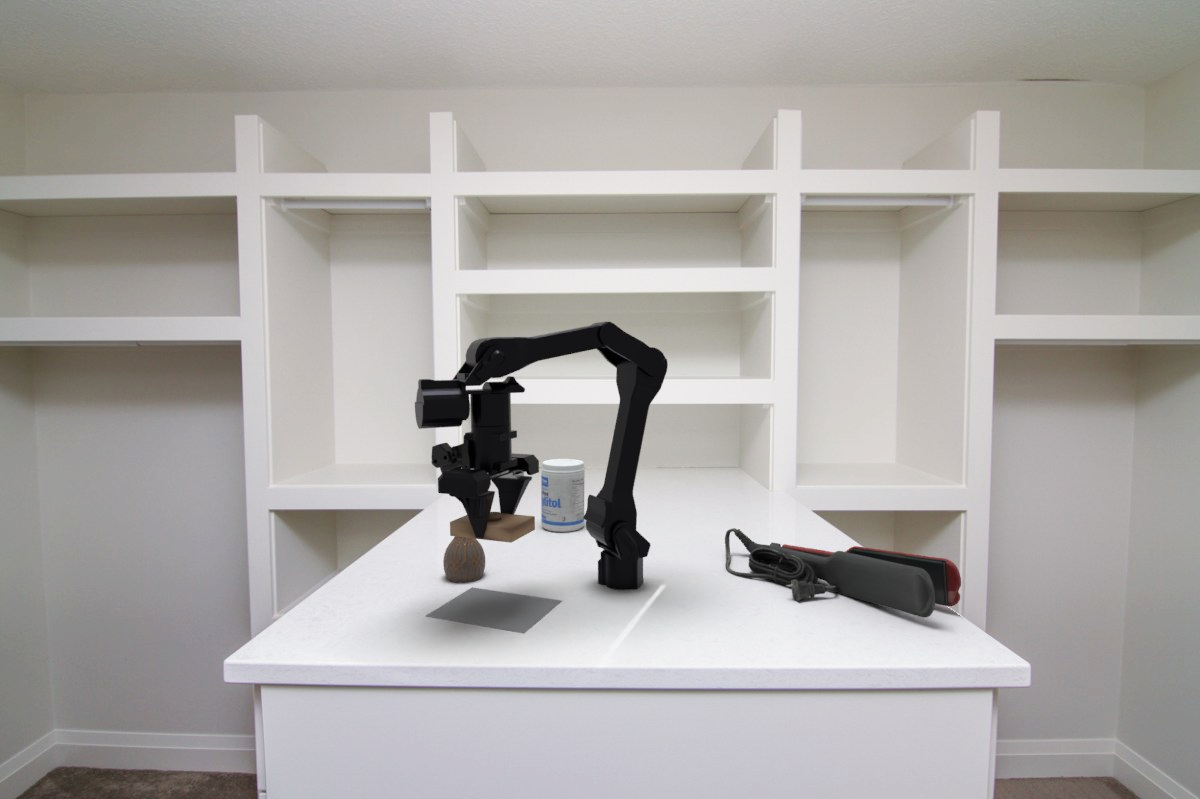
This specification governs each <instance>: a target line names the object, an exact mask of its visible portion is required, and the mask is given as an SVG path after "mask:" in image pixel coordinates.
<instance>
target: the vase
mask: <svg viewBox="0 0 1200 799" xmlns="http://www.w3.org/2000/svg"><path fill="white" fill-rule="evenodd" d="M442 564H443V570H444V573H445V576H446V578H447V580H448V581H449V582H453V583H469V582H474V581H478V580H479V579H481V578H482V577H483V575H484V572H485V568H486V555H485V550H484V548H483V546H482V544H481V543H480V542H479V540H478V539H475V538H466V537H457V536H453V539H452V540H451V541H450V543H448V545H447V547H446V548H445V552H444V555H443V563H442Z"/></svg>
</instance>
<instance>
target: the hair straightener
mask: <svg viewBox="0 0 1200 799" xmlns="http://www.w3.org/2000/svg"><path fill="white" fill-rule="evenodd" d="M731 533H734V535H735V536H736V538H738V540H739V541H740V542H741V544H742V545H743V546H744V547H745V549H746V550H747V552H748V553H749V558H748V567H749V570H751V571H752V572H753V573H749V572H739V571H736V570H733V569H731V568H730V565H729V564H730V561H731V547H730V545H731V544H730V535H731ZM724 544H725V546H724V547H725V548H724V549H725V569H726V571H727V572H728V573H729V574H731V575H733V576H735V577H739V578H745V579H766V580H769V581H773V582H775V583H777V584H781V585H783V586H785V587H787V588H790V589H791V594H792V599H793V600H794V601H796V602H799V601H801V600H803V599H804V600H805V599H807V598H809V597H810V598H814V597H815V596H816V595H822V594H825V593H826V592H827V593H828V592H836V593H838V594H840V595H843V596H846V597H849V598H853V599H856V600H861V601H863V602H868V603H871V604H876V605H878V606H883V607H886V608H888V609H893V610H897V611H901V612H903V613H907V614H910V615H913V616H917V617H920V618H929V617H930V616H931V615H932V614H933V612H934V610H935V606H936V605H939V606H945V607H953V606H956V605H957V604H958V603H959V601H960V600H961V594H960V593H959V590H960V589H961V587H962V578H961V573H960V571H959V569H958V567H957V565H956V564H955V563H954V562H953V561H952V560H950V559H948V558H945V557H935V556H926V555H922V554H921V555H920V554H912V553H907V552H900V551H892V550H887V549H878V548H871V547H870V548H869V547H864V546H857V545H856V546H851V547H850V548H848V549H846V550H845V551H842V550H837V551H829V550H828V551H827V550H822V549H816V548H812V547H811V548H810V547H809V548H808V547H804V546H803V547H802V546H797V545H791V544H785V543H784V544H782V546H781V543H778V542H770V544H769V545H768V544H761V543H757V542H755V541H753V540H752V539H751V538H750V537H748V536H747V535H746V534H745V533H744V532H742V530H741V529H739V528H738V529H737V528H735V527H734V528H730V529H728V530H727V531H726V532H725V536H724ZM819 580H821V581H824V582H826V583H827V584H829V585H824V583H823V584H819V583H818V582H819Z"/></svg>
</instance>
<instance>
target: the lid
mask: <svg viewBox="0 0 1200 799" xmlns="http://www.w3.org/2000/svg"><path fill="white" fill-rule="evenodd" d="M535 524H536V518H535V516H534V515H523V514H516V513H515V514H504V513H501V512H500V511H490V515H489V519H488V524H487V528H486V531H485V534H484V537H483V538H476V537H475V534H474V531H473V529H472V526H471V523H470V521H469V518H468V515H467V514H466V515H464V516H461V517H458V518H456V519H453V520H452V521H450V522H449V536H451V537H455V536H457V537H466V538H475V539H477V540H484V541H492V542H493V541H494V542H503V543H510V544H511V543H514V542H515V541H518V540H519V539H520V538H522V537H525V536H526V535H528V534H529V533H531V532H533V531H535V530H536V525H535Z"/></svg>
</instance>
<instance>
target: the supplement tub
mask: <svg viewBox="0 0 1200 799" xmlns="http://www.w3.org/2000/svg"><path fill="white" fill-rule="evenodd" d="M540 472H541V476H540V477H541V479H540V480H541V484H540V485H541V486H540V487H541V488H540V489H541V492H540V493H541V497H540V499H541V502H540V503H541V505H540V506H541V509H540V510H541V512H540V513H541V516H540V517H541V519H540V520H541V522H540V523H541V526H542V528H543V529H545V530H546V531H551V532H559V533H567V532H574V531H578V530H580V529H582V528H583V527H584V525H585V519H583V517H584V515H585V477H586V476H585V462H584V461H583V460H580V459H573V458H553V459H547V460H544V461H543V462H542V463H541V471H540Z"/></svg>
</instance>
